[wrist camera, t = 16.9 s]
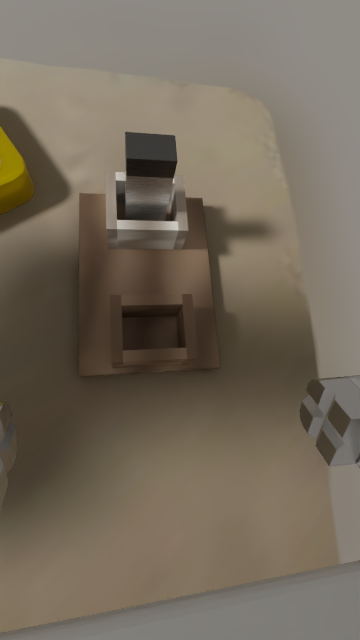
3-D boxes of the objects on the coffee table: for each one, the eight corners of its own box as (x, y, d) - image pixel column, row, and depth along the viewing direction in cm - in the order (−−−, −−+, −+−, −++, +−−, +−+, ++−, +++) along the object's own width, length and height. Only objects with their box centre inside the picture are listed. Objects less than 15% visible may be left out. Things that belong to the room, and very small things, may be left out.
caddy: (80, 376, 32) (72, 370, 27) (81, 201, 37) (74, 167, 32) (216, 368, 35) (232, 361, 29) (199, 205, 40) (210, 174, 35)
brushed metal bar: (125, 232, 36) (126, 158, 25) (124, 212, 36) (125, 132, 26) (161, 233, 36) (177, 161, 26) (160, 213, 37) (174, 135, 26)
